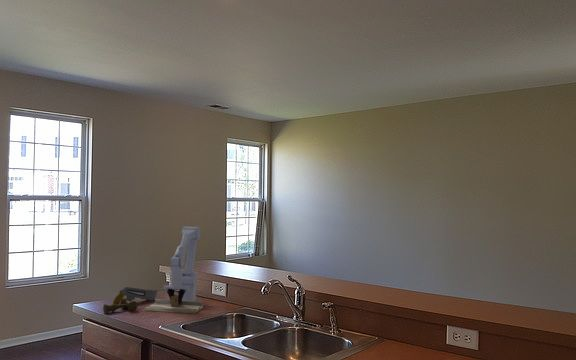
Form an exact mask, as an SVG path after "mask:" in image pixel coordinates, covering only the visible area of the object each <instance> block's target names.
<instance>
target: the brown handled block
mask: <svg viewBox="0 0 576 360" xmlns="http://www.w3.org/2000/svg"><path fill="white" fill-rule="evenodd" d="M170 303H171V307H172V306H173V307H178V306H180V305H181V303H180V304H179V294H174V295H173V296H171V301H170Z"/></svg>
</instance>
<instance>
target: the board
mask: <svg viewBox="0 0 576 360" xmlns="http://www.w3.org/2000/svg"><path fill="white" fill-rule="evenodd" d="M203 308H204V301H200V300H197V301H182V302H181V305H180V306H178V307H173V306H172V307H171V303H170V299H158V298H155V299H154V303H152V304H150V305H148V306H146V307H145V308H144V310H145V311H148V312H161V313H162V312H164V313H165V312H167V313H179V314H181V313H182V314H196V313H197V312H199V311H200V310H202V309H203Z"/></svg>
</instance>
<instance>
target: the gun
mask: <svg viewBox="0 0 576 360" xmlns="http://www.w3.org/2000/svg"><path fill="white" fill-rule="evenodd" d="M158 291H159V290H158V289H156V288H155V289H151V288H140V287H132V286H123V287H122V289H120V290H119V292H118V294H117V295H116V296H115V298H114V299H113V303H112V304H115V305H120V302H121V300H122V299H123V298H125V296H126V298H129V299H130V301H135V299H142V300H146V301H150V302H151V301H155V299H156V298H157V294H158Z"/></svg>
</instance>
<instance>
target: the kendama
mask: <svg viewBox="0 0 576 360" xmlns="http://www.w3.org/2000/svg"><path fill="white" fill-rule="evenodd" d="M138 304H141V302H140V301H138V302H137V301H135V300H132V301H130V299H129V298H127V297H123V299H122V300H121V301H120V303H119V305H115V304H113V303H111V304H107V303H106V304H103V307H102V310H103V313H104V314H107V315H108V314H109V313H111V312H112V313H113V312H115V311H117V310H119V309H122V310H123V309H127V310H128V311H129V312H135V311H137V308H138Z"/></svg>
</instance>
